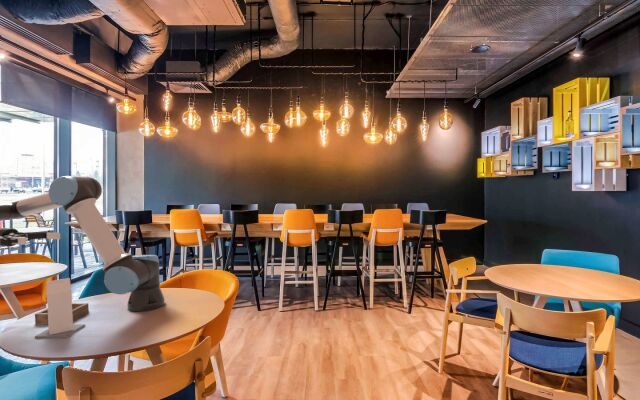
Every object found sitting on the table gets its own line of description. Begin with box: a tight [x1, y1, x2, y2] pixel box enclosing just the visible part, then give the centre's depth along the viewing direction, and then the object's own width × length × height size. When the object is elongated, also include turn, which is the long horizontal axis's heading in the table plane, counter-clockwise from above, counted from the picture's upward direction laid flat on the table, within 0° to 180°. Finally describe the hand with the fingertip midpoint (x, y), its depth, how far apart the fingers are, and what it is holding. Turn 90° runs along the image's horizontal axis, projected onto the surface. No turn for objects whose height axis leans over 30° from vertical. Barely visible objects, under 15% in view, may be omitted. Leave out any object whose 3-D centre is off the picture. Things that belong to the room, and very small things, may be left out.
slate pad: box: [34, 323, 86, 339], centre depth 138 cm, size 11×11×1 cm
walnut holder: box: [34, 302, 90, 325], centre depth 153 cm, size 13×13×4 cm
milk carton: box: [46, 277, 74, 335], centre depth 138 cm, size 7×7×19 cm
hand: (43, 238), depth 147 cm, fingers open, 13 cm apart
